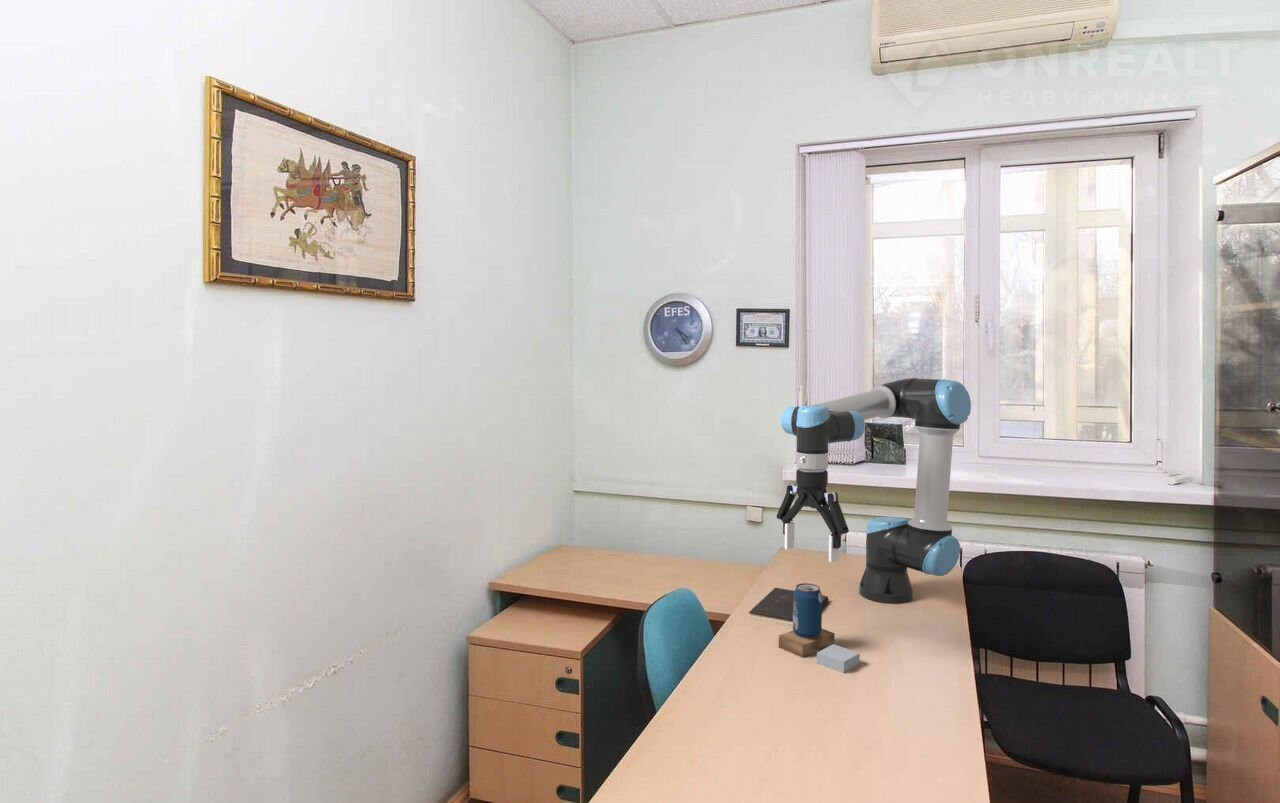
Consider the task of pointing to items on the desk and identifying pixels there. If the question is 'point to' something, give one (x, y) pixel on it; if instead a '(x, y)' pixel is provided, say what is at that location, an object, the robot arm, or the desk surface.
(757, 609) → the hardcover book
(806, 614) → the soda can
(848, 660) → the slate block
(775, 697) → the desk surface
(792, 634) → the walnut block
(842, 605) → the desk surface
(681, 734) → the desk surface
